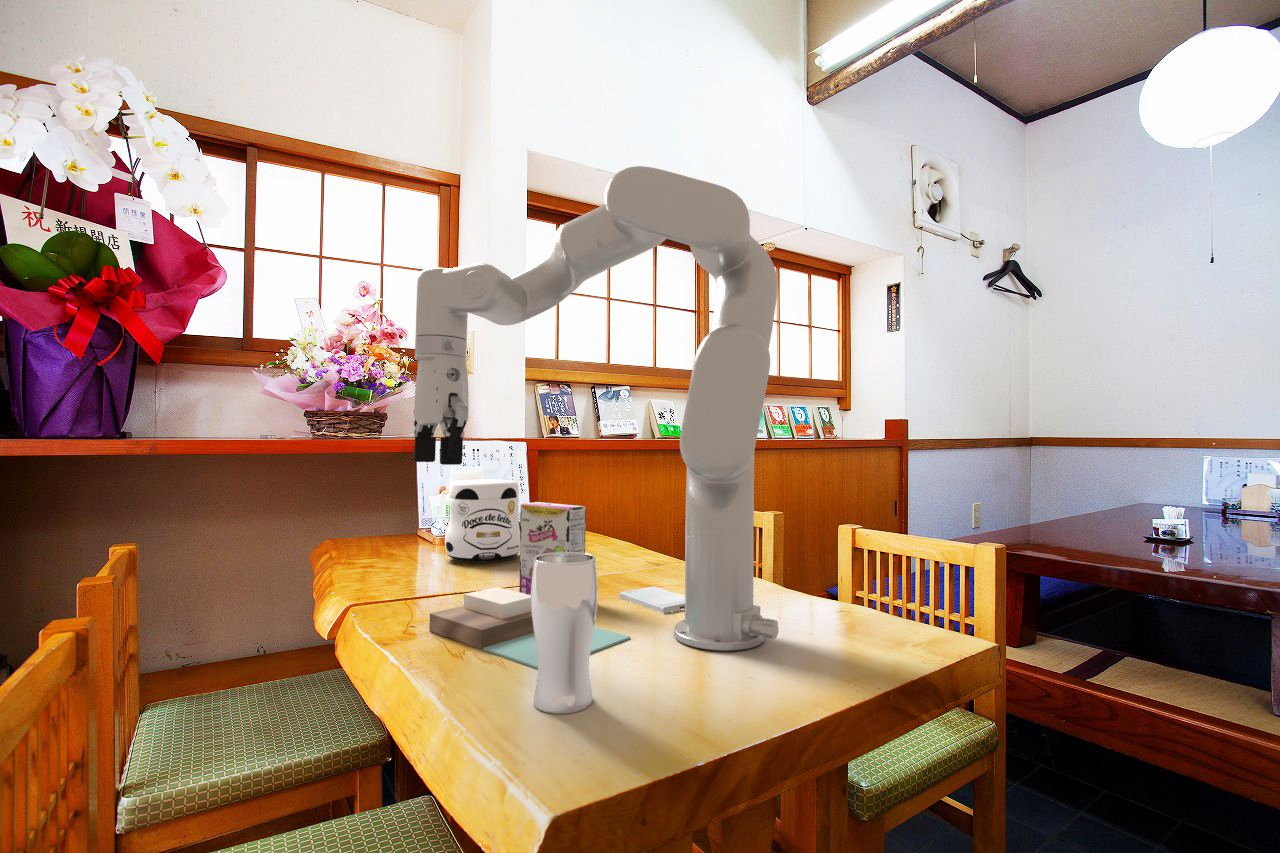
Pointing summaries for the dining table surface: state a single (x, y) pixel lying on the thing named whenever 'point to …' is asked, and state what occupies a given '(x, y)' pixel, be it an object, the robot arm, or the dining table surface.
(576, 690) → the beer glass
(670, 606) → the hard drive
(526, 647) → the mat
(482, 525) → the doce de leite container
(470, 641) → the block
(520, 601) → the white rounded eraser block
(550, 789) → the dining table surface
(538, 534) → the candy bar box
